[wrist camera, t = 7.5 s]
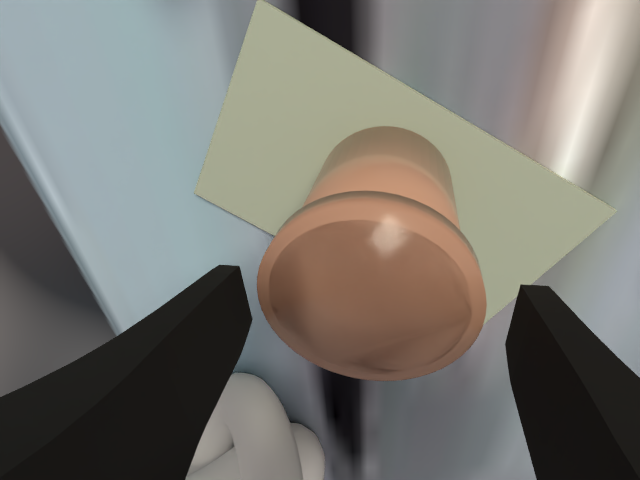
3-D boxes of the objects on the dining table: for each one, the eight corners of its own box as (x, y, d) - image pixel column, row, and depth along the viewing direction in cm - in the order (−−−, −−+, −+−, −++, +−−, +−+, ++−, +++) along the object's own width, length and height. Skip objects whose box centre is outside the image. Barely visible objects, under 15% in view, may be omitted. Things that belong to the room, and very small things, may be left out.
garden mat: (614, 208, 14) (617, 211, 14) (467, 335, 18) (467, 338, 18) (260, -2, 12) (257, -2, 12) (196, 191, 17) (193, 193, 17)
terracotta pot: (486, 139, 13) (533, 247, 8) (430, 265, 16) (437, 402, 11) (326, 100, 14) (267, 178, 8) (302, 231, 17) (249, 348, 12)
